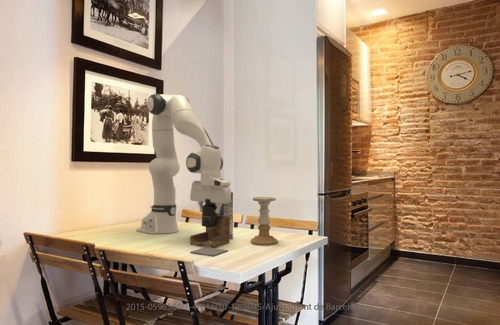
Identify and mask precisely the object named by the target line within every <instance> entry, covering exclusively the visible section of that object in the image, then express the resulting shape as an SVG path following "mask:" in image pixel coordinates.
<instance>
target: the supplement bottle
mask: <svg viewBox="0 0 500 325" xmlns="http://www.w3.org/2000/svg"><path fill="white" fill-rule="evenodd" d="M215 209H217V205H215V203H211V201H210V199H205V202H204V204H203V207H202V212H201V226H202V227H204V228H206V227H215V226H217V214H216V213H215Z"/></svg>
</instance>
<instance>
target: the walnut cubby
mask: <svg viewBox="0 0 500 325" xmlns="http://www.w3.org/2000/svg"><path fill="white" fill-rule="evenodd" d="M189 240H190V246H195V247H201V248H204V247H210V248H219V247H221V246H225V245H228V244H230V240H231V239H230V216H222V215H217V226H215V227H205V231H204V232H200V233H196V234H191V235H190V239H189ZM209 242H211V243H209Z"/></svg>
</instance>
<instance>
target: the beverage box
mask: <svg viewBox="0 0 500 325" xmlns="http://www.w3.org/2000/svg"><path fill="white" fill-rule="evenodd" d="M215 205H217V203H215ZM217 207H218V206H217ZM217 215H222V216H230V240H232V239H233V238H234V237H233V236H234V235H233V232H234V227H233V226H234V222H233V221H234V192H233V191H231V202H230V203H229V204H222V207H221V208H220V213H219V214H217Z"/></svg>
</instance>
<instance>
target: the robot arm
mask: <svg viewBox="0 0 500 325" xmlns="http://www.w3.org/2000/svg"><path fill="white" fill-rule="evenodd" d="M146 102H147V103H146V107H147V110H148V112H149V114H152V119H151V120H152V121H151V133H152V134H151V135H152V136H151V137H152V147H153V149H154V153H155V156H156V157H155V158H154V159H152V160H151V161H150V162H149V164H148V171H149V173H150V175H151V180H152V187H153V205H150V206H149V207H150V209H151V210H150V212H149V213H148V214H147V215H145V217H143V218H142V219H141V224H140V227H137V228H136V231H137V232H139V233H145V234H150V235H157V234H159V235H160V234H173V233H177V232H179V228H178V222H177V204H176V187H175V185H174V184H175V183H174V177H176V175H177V174H178V173H179V171H180V168H181V167H180V163H179V160H178V157H177V156H178V155H177V152H176V146H175V135H174V128H175V130H176V131H177V132H179V133H180V134H181V135H184V136H187V137H189V138H191V139H193V140H195V142H197V143H198V145H199V147H200V149H198V150H196V151H194V152H190V154H189V155H188V156H187V157H186V159H185V160H186V161H185V165H186V168H187V170H188V172H190V173H193V174H200V180H194V181H193V182H192V183H191V188H190V194H189V199H190V201H191V202H197V205H198V207H199V212H201V213H202V207H203V205H204V203H205V199H210V201H211V203H217V206H218V207H217V209H215V213H216V214H219V213H220V208H221V207H222V204H229V203H230V202H231V192H232V189H231V188H230V186H231V181H229V180H227V179H225V178H223V177H222V173H221V170H222V169H223V166H224V160H223V158H222V151H221V148H220V147H219V146H218V145H214V143H213V142H212V140H211V138H210V136H209V134H208V131H207V130H206V129H205V128H204V126H203V125H202V124H201V123H200V122H199V120H198V118H197V117H196V116H195V113H194V110H193V108H192V106H191V103H190V100H189V99H188V98H187V97H186V96H184V95H182V94H177V95H176V94H172V93H171V94H170V93H169V94H167V93H165V94H164V93H163V94H160V93H154V94H151V95H150V96H149V97H148V98H147V101H146Z"/></svg>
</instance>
